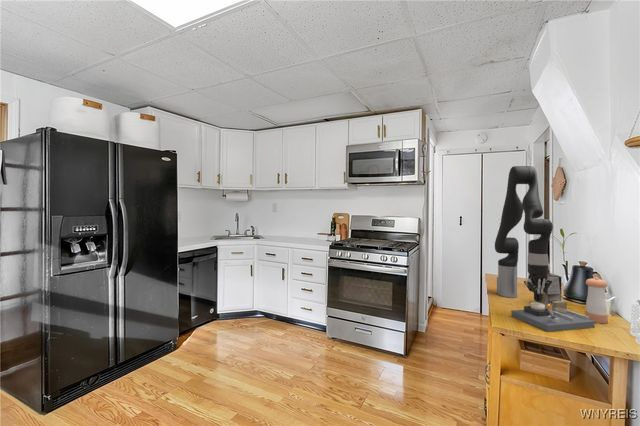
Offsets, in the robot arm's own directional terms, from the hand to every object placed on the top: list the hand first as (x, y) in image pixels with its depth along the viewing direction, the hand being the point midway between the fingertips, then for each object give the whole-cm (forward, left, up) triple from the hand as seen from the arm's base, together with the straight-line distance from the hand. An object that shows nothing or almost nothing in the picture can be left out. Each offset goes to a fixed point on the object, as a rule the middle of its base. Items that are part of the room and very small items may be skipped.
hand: (537, 301), depth 132 cm
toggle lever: (+10, -3, -4) cm, 11 cm away
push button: (0, 0, -4) cm, 4 cm away
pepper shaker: (+7, +23, -8) cm, 25 cm away
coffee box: (-13, +21, -8) cm, 26 cm away
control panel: (+4, +3, -8) cm, 9 cm away
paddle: (+2, +10, -5) cm, 11 cm away
